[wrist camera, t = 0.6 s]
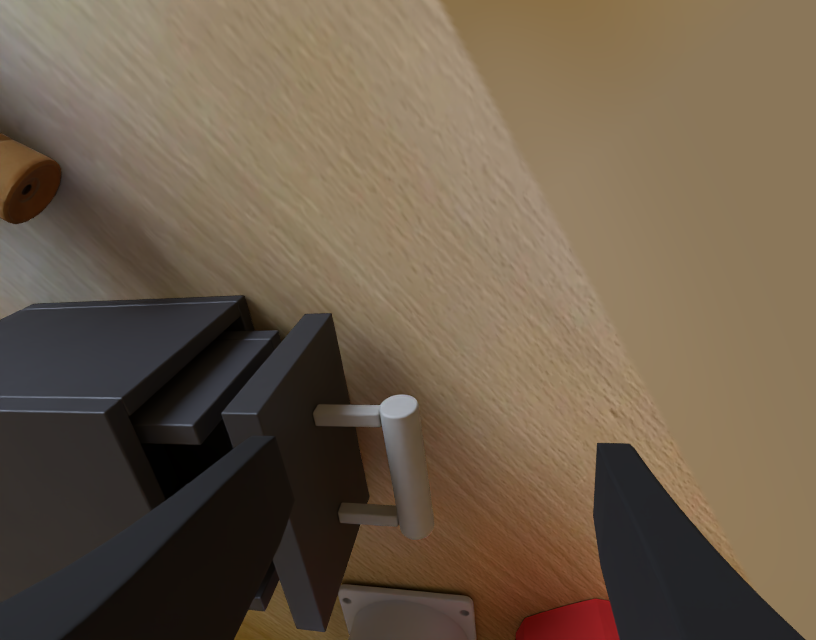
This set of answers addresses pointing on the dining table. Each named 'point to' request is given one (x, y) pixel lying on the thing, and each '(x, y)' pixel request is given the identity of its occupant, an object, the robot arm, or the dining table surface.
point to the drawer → (291, 449)
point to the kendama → (25, 181)
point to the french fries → (571, 623)
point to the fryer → (86, 420)
